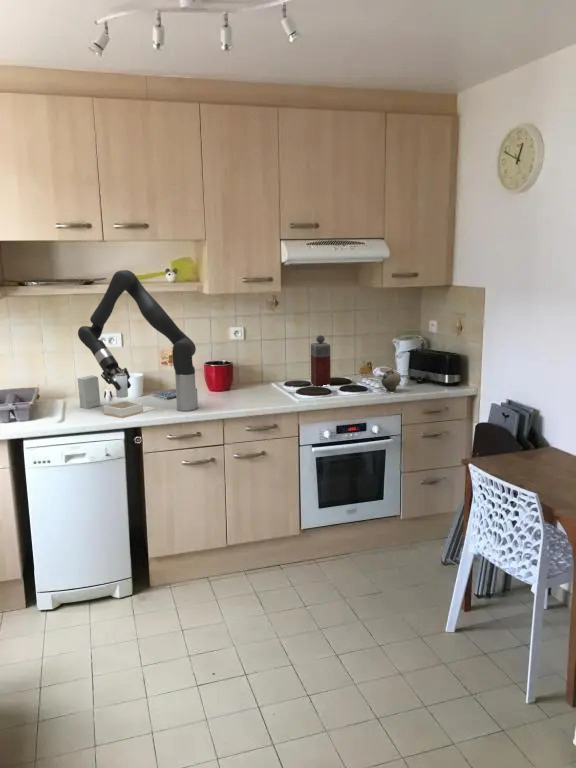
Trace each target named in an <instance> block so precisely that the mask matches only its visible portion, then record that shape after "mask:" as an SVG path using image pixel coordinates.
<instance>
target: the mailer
mask: <svg viewBox="0 0 576 768" xmlns="http://www.w3.org/2000/svg"><path fill="white" fill-rule="evenodd" d="M153 409H154V410H157V408H156V407H151V406H145V405H144V404H143V403H140V402H139V403H138V402H135V401H134V402H133V401H128V400H122V401H119V402H115V403H111V404H106V405H103V413H104V415H105V416H111V417H116V418H121V419H123V418H128V417H130V416H135V415H138V414H143V413H146V411H147V412H150V411H149V410H151V411H154V410H153ZM142 412H143V413H142Z"/></svg>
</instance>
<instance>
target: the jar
mask: <svg viewBox="0 0 576 768" xmlns="http://www.w3.org/2000/svg"><path fill="white" fill-rule="evenodd" d="M115 378H116V382H118V384H119V385H120V387H121V389H120V390H119V391H118V390H117V389H116V388H115V392H116V398H117V399H124V398H128V397H129V388H128V385H127V375H126V373H117V374H116V376H115Z"/></svg>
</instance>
